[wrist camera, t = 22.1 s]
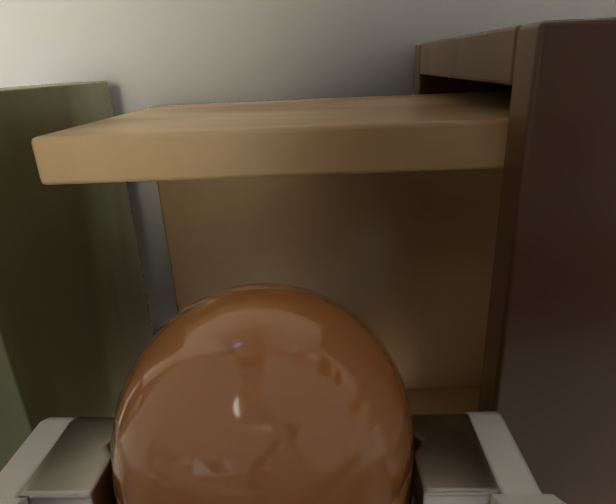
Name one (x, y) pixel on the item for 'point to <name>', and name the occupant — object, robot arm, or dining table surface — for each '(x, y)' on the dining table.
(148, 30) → the dining table surface
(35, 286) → the drawer
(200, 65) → the dining table surface
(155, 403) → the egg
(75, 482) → the robot arm
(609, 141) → the cabinet
